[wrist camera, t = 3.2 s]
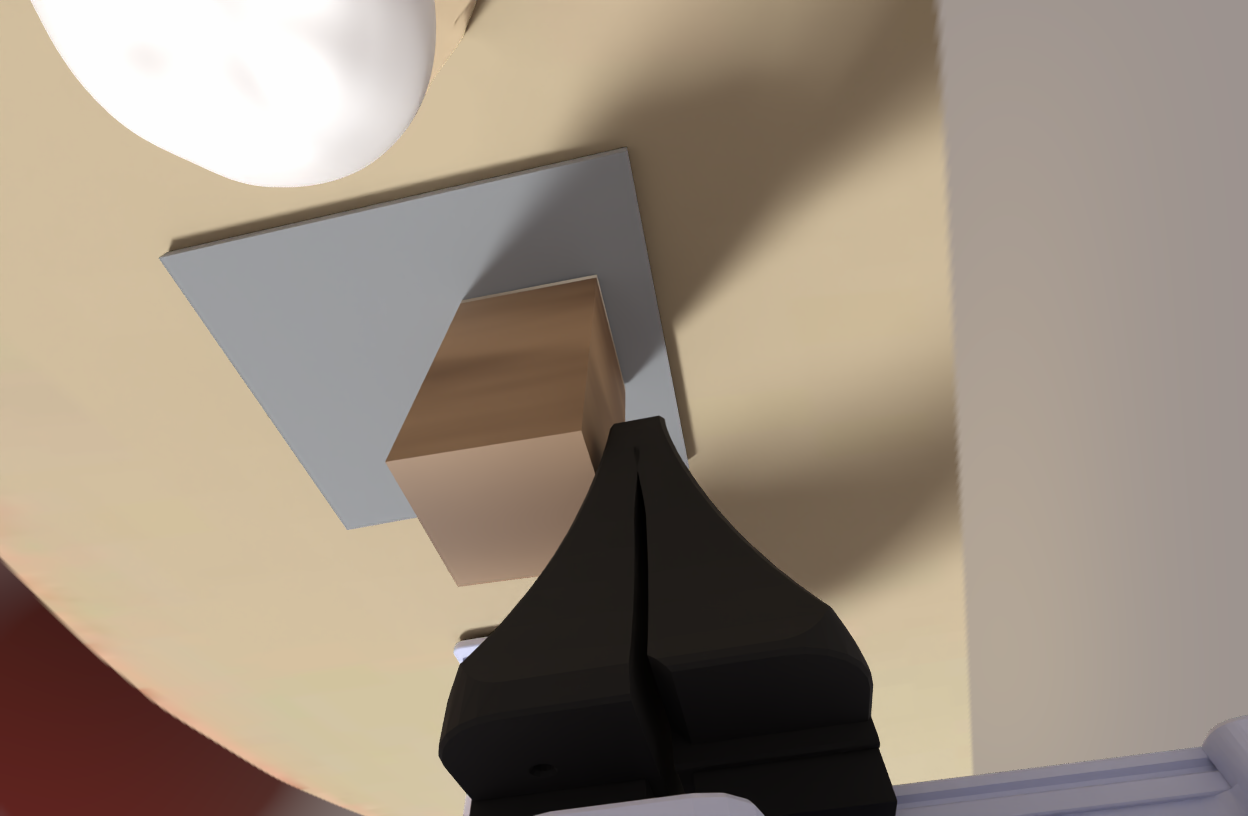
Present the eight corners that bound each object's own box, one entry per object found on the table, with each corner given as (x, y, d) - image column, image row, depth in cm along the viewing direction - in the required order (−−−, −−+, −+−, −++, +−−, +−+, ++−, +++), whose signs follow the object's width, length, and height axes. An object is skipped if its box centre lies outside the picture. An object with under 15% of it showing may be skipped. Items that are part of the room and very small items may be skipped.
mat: (687, 461, 22) (689, 468, 22) (350, 521, 23) (347, 529, 23) (627, 146, 16) (627, 150, 16) (166, 252, 17) (158, 258, 17)
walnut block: (625, 389, 20) (624, 565, 14) (505, 408, 20) (457, 586, 15) (596, 274, 17) (581, 430, 12) (461, 300, 18) (384, 461, 12)
